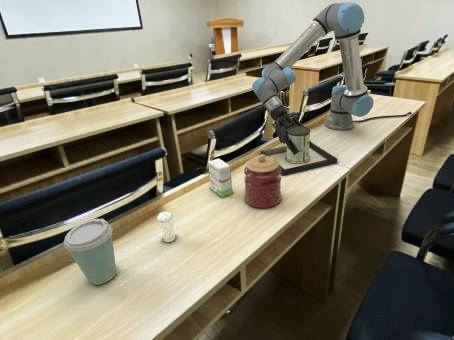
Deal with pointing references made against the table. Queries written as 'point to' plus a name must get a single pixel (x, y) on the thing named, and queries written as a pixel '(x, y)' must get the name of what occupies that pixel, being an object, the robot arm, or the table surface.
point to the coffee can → (299, 144)
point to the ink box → (220, 177)
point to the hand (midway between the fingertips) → (303, 149)
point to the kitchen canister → (262, 182)
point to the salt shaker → (166, 226)
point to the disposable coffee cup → (93, 250)
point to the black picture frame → (296, 169)
